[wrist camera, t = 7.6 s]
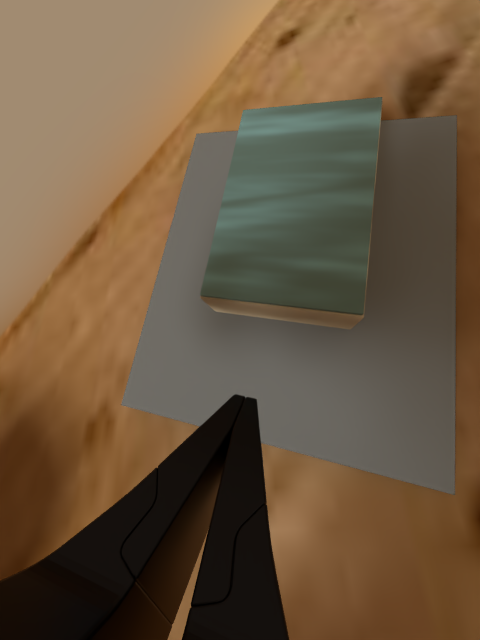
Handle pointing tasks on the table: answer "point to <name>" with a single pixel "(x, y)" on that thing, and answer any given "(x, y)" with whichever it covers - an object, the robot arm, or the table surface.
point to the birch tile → (297, 215)
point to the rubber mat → (321, 341)
